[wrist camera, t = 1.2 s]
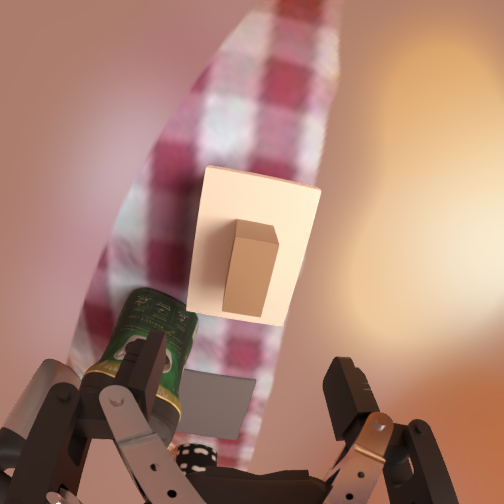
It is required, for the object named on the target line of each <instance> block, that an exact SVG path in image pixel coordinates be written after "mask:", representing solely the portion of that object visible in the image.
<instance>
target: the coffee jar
mask: <svg viewBox="0 0 504 504" xmlns="http://www.w3.org/2000/svg"><path fill="white" fill-rule="evenodd" d="M186 307H187V305H185V304H183V303H182V302H180V301H178V300H176V299H174V298H172V297H170V296H168V295H166V294H163V293H161V292H158V291H156V290H153V289H150V288H139V289H137V290H135V291H133V292H132V293H131V294H130V296H129V297H128V299H127V301H126V303H125V305H124V307H123V309H122V311H121V314H120V316H119V318H118V321H117V323H116V326H115V329H114V331H113V334H112V336H111V339H110V341H109V343H108V346H107V348H106V350H105V352H104V354H103V356H102V358H101V359H100V361H99V362H97V363H96V364H94V365H93V366H91V367H90V368H89V369H88V370H87V371H86V372H85V374H84V376H83V378H82V381H81V384H80V387H79V392H88V393H97V392H101V391H102V390H103V389H104V388H106V387H108V386H110V385H111V384H112V382H113V380H114V378H115V375H116V373H117V371H118V369H119V367H120V364H121V362H122V360H123V358H124V356H125V354H126V352H127V350H128V347H129V345H130V344H131V343H132V342H133V341H135V340H136V339H137V338H140V339H145V340H146V338H147V336H148V333H149V331H150V330H155V331H159V332H164V333H166V361H165V367H164V370H163V374H162V377H161V380H160V384H159V387H158V391H157V394H156V398H155V401H154V405H153V408H152V412H151V415H150V419H149V423H148V425H149V426H150V428H151V430H152V431H153V432H156V433H157V434H158V436H159V437H160V439H161V440H162V442H163V443H164V445H165V447H166V448H167V447H168V446H169V444H170V443H171V441H172V438H173V436H174V434H175V430H176V428H177V425H178V423H179V421H180V418H181V404H180V400H179V386H180V381H181V377H182V374H183V370H184V367H185V364H186V361H187V359H188V356H189V353H190V351H191V348H192V345H193V342H194V340H195V336H196V333H197V329H198V317H197V315H196V314H195V312H190V311H186ZM111 440H112V439H111Z"/></svg>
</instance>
